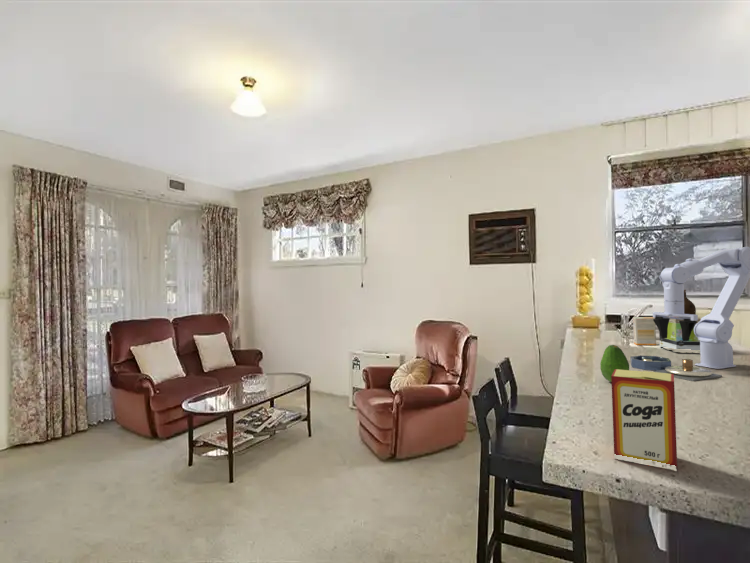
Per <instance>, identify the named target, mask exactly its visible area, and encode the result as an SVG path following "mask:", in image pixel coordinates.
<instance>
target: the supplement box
mask: <svg viewBox="0 0 750 563" xmlns="http://www.w3.org/2000/svg"><path fill="white" fill-rule="evenodd" d="M653 319H655V318H654V317H653V316H639V317H638V316H637V317H636V316H634V317H632V326H633V331H632V332H633V344H634V345H635V346H657V333H656V332H657V331H656V324H655V322H654V321H653Z"/></svg>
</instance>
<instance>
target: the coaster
mask: <svg viewBox="0 0 750 563" xmlns="http://www.w3.org/2000/svg"><path fill="white" fill-rule="evenodd" d="M652 372H659V373H669V372H666V371H665V370H658V371H657V370H652ZM669 374H673V373H669ZM722 377H723V375H722V374H718V373H714V372H712V375H710V376H683V375H677V374H674V379H676V378H677V379H681V380H686V381H690V382H699V381H703V380H710V379H717V378H722Z"/></svg>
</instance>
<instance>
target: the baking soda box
mask: <svg viewBox="0 0 750 563" xmlns="http://www.w3.org/2000/svg"><path fill="white" fill-rule="evenodd" d="M611 381H612V382H611V402H612V407H611V408H612V425H613V426H612V432H613V455H614V454H616V455H622V456H627V457H633V458H637V459H644V460H652V461H657V462H661V463H666V464H670V465H675V466H677V467H678V452H677V451H678V448H677V422H676V420H677V419H676V398H675V397H676V394H675V392H676V391H675V377H674V374H669V373H659V372H653V371H650V370H643V371H641V370H640V371H639V370H631V369H629V370H619V369H615V370H614V372H613V374H612V376H611Z"/></svg>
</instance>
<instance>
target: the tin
mask: <svg viewBox="0 0 750 563" xmlns="http://www.w3.org/2000/svg"><path fill="white" fill-rule="evenodd" d="M670 366H672V360H671V359H670V358H668V357H663V356H657V355H633V356H630V367H631V368H634V369H639V370H643V371H658V370H665V368H666V367H670Z"/></svg>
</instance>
